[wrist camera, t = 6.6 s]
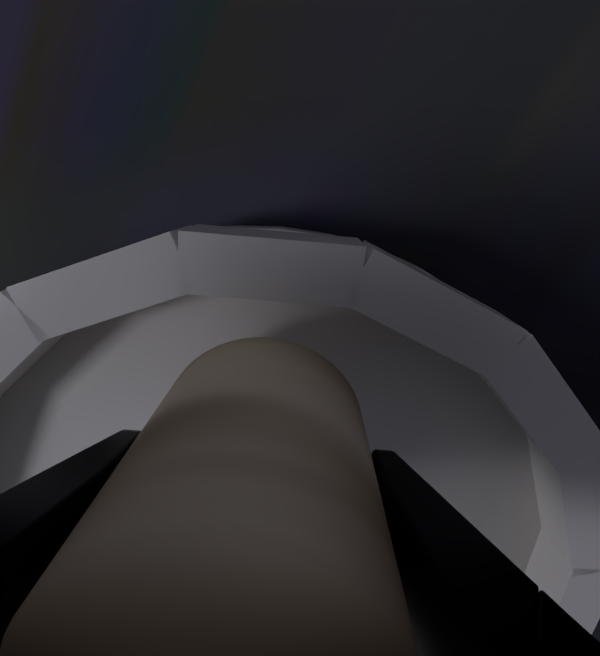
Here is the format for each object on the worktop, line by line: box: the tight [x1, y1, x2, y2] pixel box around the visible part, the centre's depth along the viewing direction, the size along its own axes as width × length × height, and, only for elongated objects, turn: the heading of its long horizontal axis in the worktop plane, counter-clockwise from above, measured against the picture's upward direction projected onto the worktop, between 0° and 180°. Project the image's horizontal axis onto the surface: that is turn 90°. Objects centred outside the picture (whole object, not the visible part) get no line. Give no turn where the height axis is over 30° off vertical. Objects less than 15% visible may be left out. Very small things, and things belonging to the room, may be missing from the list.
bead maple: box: [0, 337, 419, 656], centre depth 6 cm, size 4×4×5 cm
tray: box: [0, 224, 600, 635], centre depth 12 cm, size 18×18×3 cm
